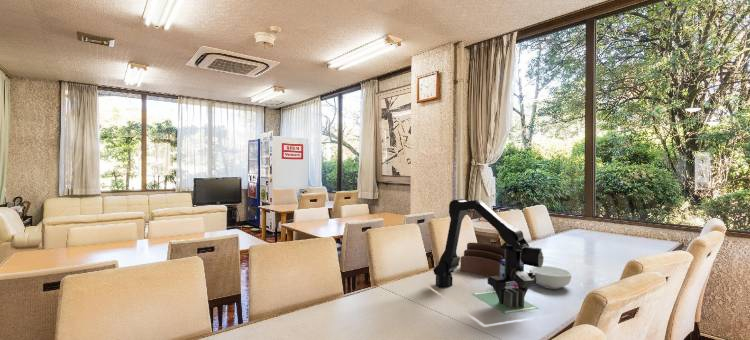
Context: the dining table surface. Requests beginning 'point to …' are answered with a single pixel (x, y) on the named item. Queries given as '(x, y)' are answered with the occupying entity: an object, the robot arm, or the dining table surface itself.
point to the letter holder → (482, 259)
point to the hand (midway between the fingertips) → (511, 302)
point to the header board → (493, 300)
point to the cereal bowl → (551, 276)
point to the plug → (513, 297)
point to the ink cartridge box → (503, 272)
